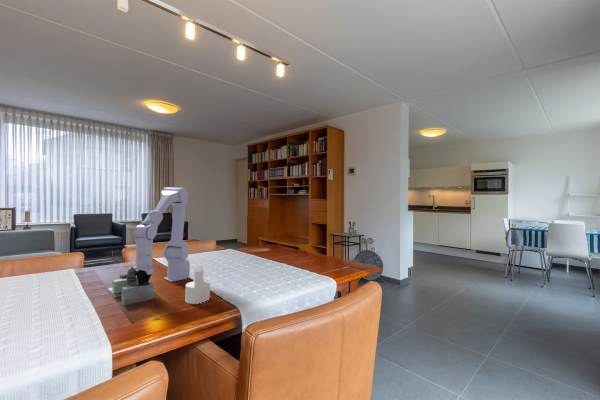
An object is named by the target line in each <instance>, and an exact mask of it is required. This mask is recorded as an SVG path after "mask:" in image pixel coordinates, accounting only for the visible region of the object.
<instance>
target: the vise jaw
mask: <svg viewBox="0 0 600 400" xmlns="http://www.w3.org/2000/svg"><path fill="white" fill-rule="evenodd" d="M136 277H137V276H136ZM126 278H127V272H126V273H122V274H121V273H120V274H119V279H113V280H112V288H113V291H112V292H113V293H120V292H122V287H126V285H127V280H126ZM138 284H139V283H138V279H136V285H138Z"/></svg>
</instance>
